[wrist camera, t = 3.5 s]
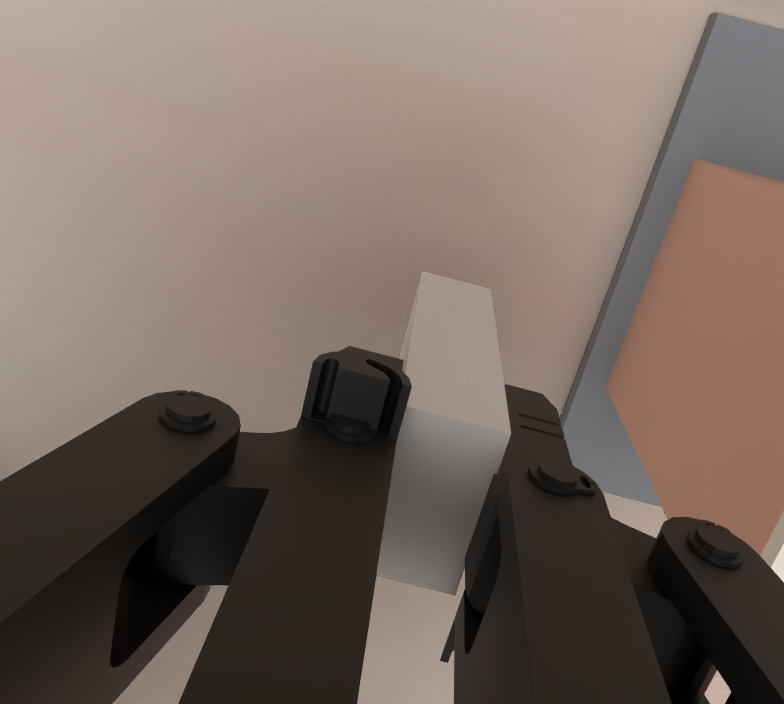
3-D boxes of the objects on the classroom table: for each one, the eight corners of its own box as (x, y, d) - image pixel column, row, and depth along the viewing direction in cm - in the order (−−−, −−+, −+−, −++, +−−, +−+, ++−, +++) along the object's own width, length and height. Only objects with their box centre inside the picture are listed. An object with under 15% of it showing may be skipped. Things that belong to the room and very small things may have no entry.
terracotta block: (605, 386, 29) (727, 647, 16) (694, 158, 26) (936, 259, 13) (703, 412, 30) (902, 690, 17) (804, 187, 26) (1154, 316, 13)
